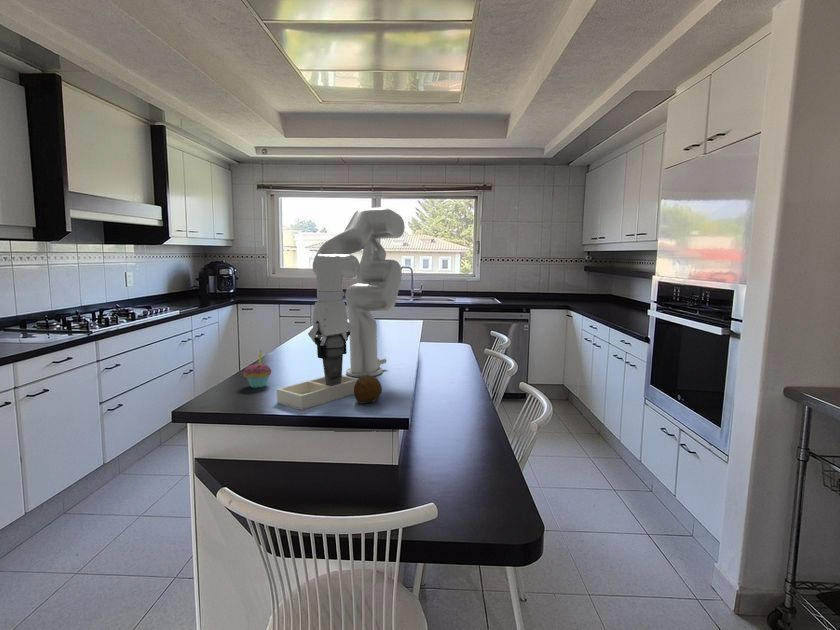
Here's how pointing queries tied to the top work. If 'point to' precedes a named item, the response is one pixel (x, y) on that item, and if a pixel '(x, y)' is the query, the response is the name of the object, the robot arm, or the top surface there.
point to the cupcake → (257, 374)
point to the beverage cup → (333, 360)
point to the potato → (367, 389)
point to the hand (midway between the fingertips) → (332, 355)
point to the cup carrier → (314, 392)
